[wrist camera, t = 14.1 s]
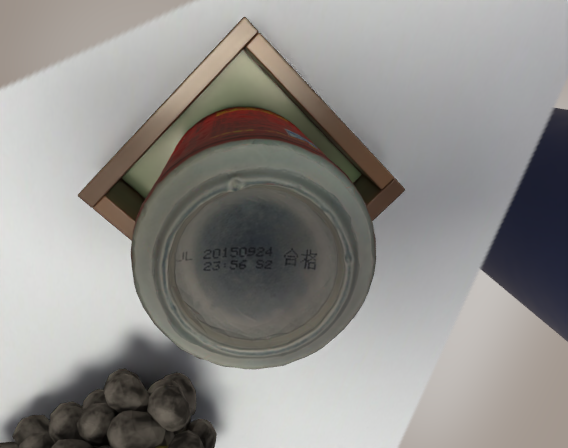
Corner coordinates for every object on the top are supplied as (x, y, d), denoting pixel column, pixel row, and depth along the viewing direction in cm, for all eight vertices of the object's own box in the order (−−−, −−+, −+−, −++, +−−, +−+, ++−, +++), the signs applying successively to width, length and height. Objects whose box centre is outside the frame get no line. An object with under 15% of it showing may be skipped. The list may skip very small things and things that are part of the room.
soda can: (318, 236, 27) (386, 371, 15) (181, 249, 26) (142, 398, 15) (312, 97, 25) (386, 130, 13) (162, 108, 24) (99, 152, 12)
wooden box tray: (380, 171, 27) (406, 190, 23) (245, 300, 28) (248, 338, 25) (241, 22, 24) (244, 16, 20) (99, 174, 25) (76, 195, 22)
